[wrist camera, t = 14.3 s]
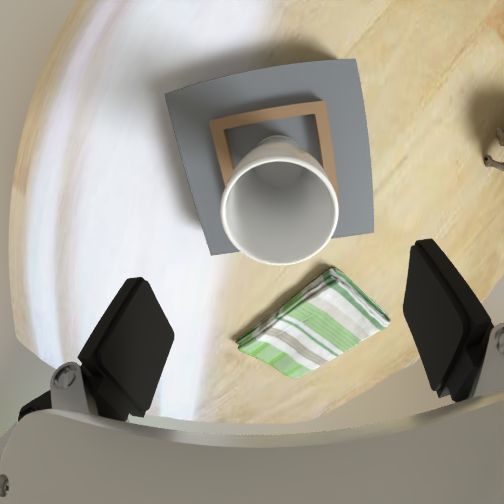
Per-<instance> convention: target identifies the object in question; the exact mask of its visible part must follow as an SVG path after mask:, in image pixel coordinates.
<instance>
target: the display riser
mask: <svg viewBox="0 0 504 504" xmlns="http://www.w3.org/2000/svg"><path fill="white" fill-rule="evenodd" d="M165 98H166V102H167V105H168V109H169V113H170V117H171V121H172V125H173V128H174V132H175V136H176V139H177V143H178V147H179V150H180V154H181V158H182V161H183V165H184V168H185V172H186V175H187V179H188V182H189V185H190V189H191V192H192V196H193V199H194V202H195V206H196V209H197V212H198V215H199V219H200V222H201V225H202V228H203V232H204V235H205V238H206V241H207V244H208V247H209V250H210V254H211V256H212V255H219V254H226V253H233V252H240V251H239V250H238V249H237V248H236V247H235V246H234V245H233V244H232V242H231V241H230V240H229V238H228V237H227V235H226V233H225V231H224V228H223V225H222V222H221V215H220V205H221V199H222V195H223V192H224V190H225V187H226V185H227V182H228V180H229V178H230V176H231V174H232V172H233V170H234V169H235V167H236V166H237V164H238V163H239V162H240V161H241V160H242V158H243V157H244V156H245V155H246V154H248V153H249V152H250V151H251V150H253V149H254V148H255V147H256V146H257V145H258V144H259V143H260V142H261V141H262V140H263V139H265V138H267V137H269V136H273V135H283V136H287V137H289V138H291V139H293V140H295V141H296V142H297V143H298V144H299V145H300V147H302V148H303V149H305V150H306V151H307V152H309V153H310V154H311V155H312V156H313V157H314V158H315V159H316V160H317V161H318V162H319V163H320V165H321V166H322V167H323V169H324V170H325V172H326V174H327V176H328V177H329V179H330V182H331V184H332V186H333V188H334V191H335V193H336V196H337V200H338V208H339V214H338V221H337V225H336V228H335V231H334V233H333V235H332V237H331V238H330V239H332V238H339V237H346V236H354V235H361V234H368V233H374V209H373V186H372V170H371V158H370V148H369V138H368V130H367V122H366V114H365V108H364V101H363V95H362V89H361V83H360V78H359V73H358V68H357V63H356V59H336V60H322V61H311V62H302V63H294V64H287V65H280V66H274V67H268V68H262V69H257V70H251V71H247V72H242V73H237V74H233V75H228V76H224V77H220V78H216V79H212V80H209V81H205V82H201V83H198V84H195V85H191V86H188V87H185V88H181V89H178V90H175V91H172V92H169V93H166V94H165Z"/></svg>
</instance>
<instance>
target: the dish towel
mask: <svg viewBox="0 0 504 504" xmlns="http://www.w3.org/2000/svg"><path fill="white" fill-rule="evenodd" d="M390 322H391V319H390V318H389V316H388V314H387V313H386V312H385V311H383V310H382V309H381V307H379V306H378V305H377V304H376V303H375V302H373V301H372V300H371V299H370V298H369V297H368V296H367V295H365V294H364V293H363V292H362V291H361V290H360V289H359V288H358V287H357V286H356V285H355V284H354V283H353V282H352V281H351V280H350V279H349V278H348V277H347V276H346V275H345V274H344V273H342V272H341V271H339V270H337V268H336V267H334V268H333V269H332V268H330V269H329V270H328V271H326V272H325V273H323V274H322V275H321V276H320V277H318V278H317V279H316V280H315V281H314V282H312V283H310V284H309V285H308V286H306V287H305V288H304V289H303V290H302V291H301V292H300V293H298V294H297V295H296V296H294V297H293V298H292V299H291V300H290V301H289V302H287V303H286V304H285V305H284V306H283V307H281V308H280V309H279V310H277V311H276V312H274V313H273V314H271V315H270V316H268V317H267V318H266V319H264V320H263V321H261V322H260V323H259V324H257V325H256V326H254V327H253V328H252V329H250V330H249V331H248V332H246V333H245V334H244V335H242V336H241V337H240V338H238V339H237V341H236V343H238V344H239V346H238V350H239V351H241V352H243V353H246V354H248V355H251V356H253V357H255V358H257V359H260V360H262V361H264V362H266V363H268V364H270V365H271V366H273V367H274V368H276V369H277V370H279V371H280V372H281V373H283V374H284V375H286V376H289V377H292V378H300V377H301V376H303V375H305V374H306V373H308V372H310V371H312V370H314V369H316V368H317V367H320V366H321V365H323V364H325V363H327V362H328V361H330V360H331V359H333V358H335V357H337V356H338V355H340V354H342V353H344V352H346V351H348V350H349V349H351V348H353V347H354V346H356V345H357V344H359V343H360V342H362V341H363V340H365V339H366V338H368V337H370V336H372V335H373V334H375V333H376V332H378V331H380V330H383V329H385V328H386V327H388V326H389V323H390Z"/></svg>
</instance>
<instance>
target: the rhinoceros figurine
mask: <svg viewBox="0 0 504 504" xmlns="http://www.w3.org/2000/svg"><path fill="white" fill-rule="evenodd" d="M496 135H497V137H498V139H499V140H500V145H501V146H504V132H503V131H502V129H501V128H497V134H496ZM486 157H487V158H488V161H484V162H485V164H486V167H495V168H497V169H499V170H502V171H504V162H501V163H500V162H497V161H495V160H493V159H492V158H491V156H488V155H487V156H486ZM486 157H485V158H486ZM484 160H485V159H484Z"/></svg>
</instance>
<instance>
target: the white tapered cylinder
mask: <svg viewBox="0 0 504 504" xmlns="http://www.w3.org/2000/svg"><path fill="white" fill-rule="evenodd" d="M338 214H339V208H338V200H337V196H336V193H335V191H334V188H333V186H332V184H331V182H330V179H329V177H328V176H327V174H326V172H325V170H324V169H323V167H322V166H321V165H320V163H319V162H318V161H317V160H316V159H315V158H314V157H313V156H312V155H311V154H310V153H309V152H307V151H306V150H305V149H303V148H302V147H300V145H299V144H298V143H297V142H296V141H295V140H293V139H291V138H289V137H287V136H283V135H273V136H269V137H267V138H265V139H263V140H262V141H261V142H260V143H259V144H258V145H257V146H256V147H255V148H254V149H253V150H251V151H250V152H249V153H248V154H246V155H245V156H244V157H243V158H242V160H241V161H240V162H239V163H238V164H237V166H236V167H235V169H234V170H233V172H232V174H231V176H230V178H229V180H228V182H227V185H226V187H225V190H224V192H223V195H222V199H221V205H220V215H221V222H222V225H223V228H224V231H225V233H226V235H227V237H228V238H229V240H230V241H231V242H232V244H233V245H234V246H235V247H236V248H237V249H238V250H239V251H240V252H242V253H243V254H244V255H246V256H248V257H249V258H251V259H253V260H256V261H258V262H261V263H265V264H270V265H290V264H295V263H298V262H301V261H304V260H306V259H308V258H310V257H312V256H313V255H315V254H316V253H318V252H319V251H320V250H321V249H322V248H323V247H324V246H325V245H326V244H327V243H328V241H329V240H330V238H331V237H332V235H333V233H334V231H335V228H336V225H337V221H338Z"/></svg>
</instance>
